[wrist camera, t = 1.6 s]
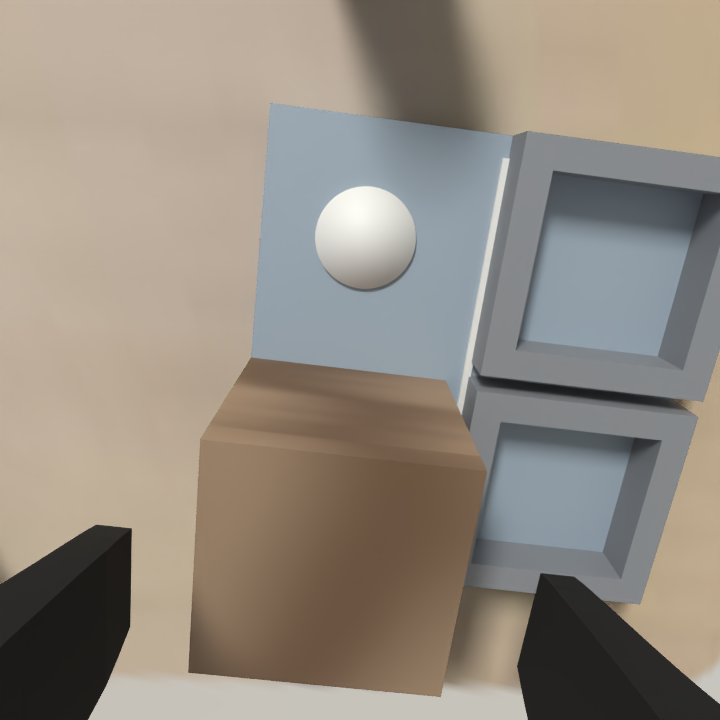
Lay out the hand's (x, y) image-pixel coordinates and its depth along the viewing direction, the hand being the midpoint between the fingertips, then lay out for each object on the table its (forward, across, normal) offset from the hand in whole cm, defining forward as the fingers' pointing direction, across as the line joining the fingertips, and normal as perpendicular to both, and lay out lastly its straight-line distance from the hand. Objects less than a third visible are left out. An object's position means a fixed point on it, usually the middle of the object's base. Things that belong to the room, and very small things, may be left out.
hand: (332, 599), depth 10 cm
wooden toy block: (+6, 0, 0) cm, 6 cm away
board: (+7, -3, -2) cm, 8 cm away
